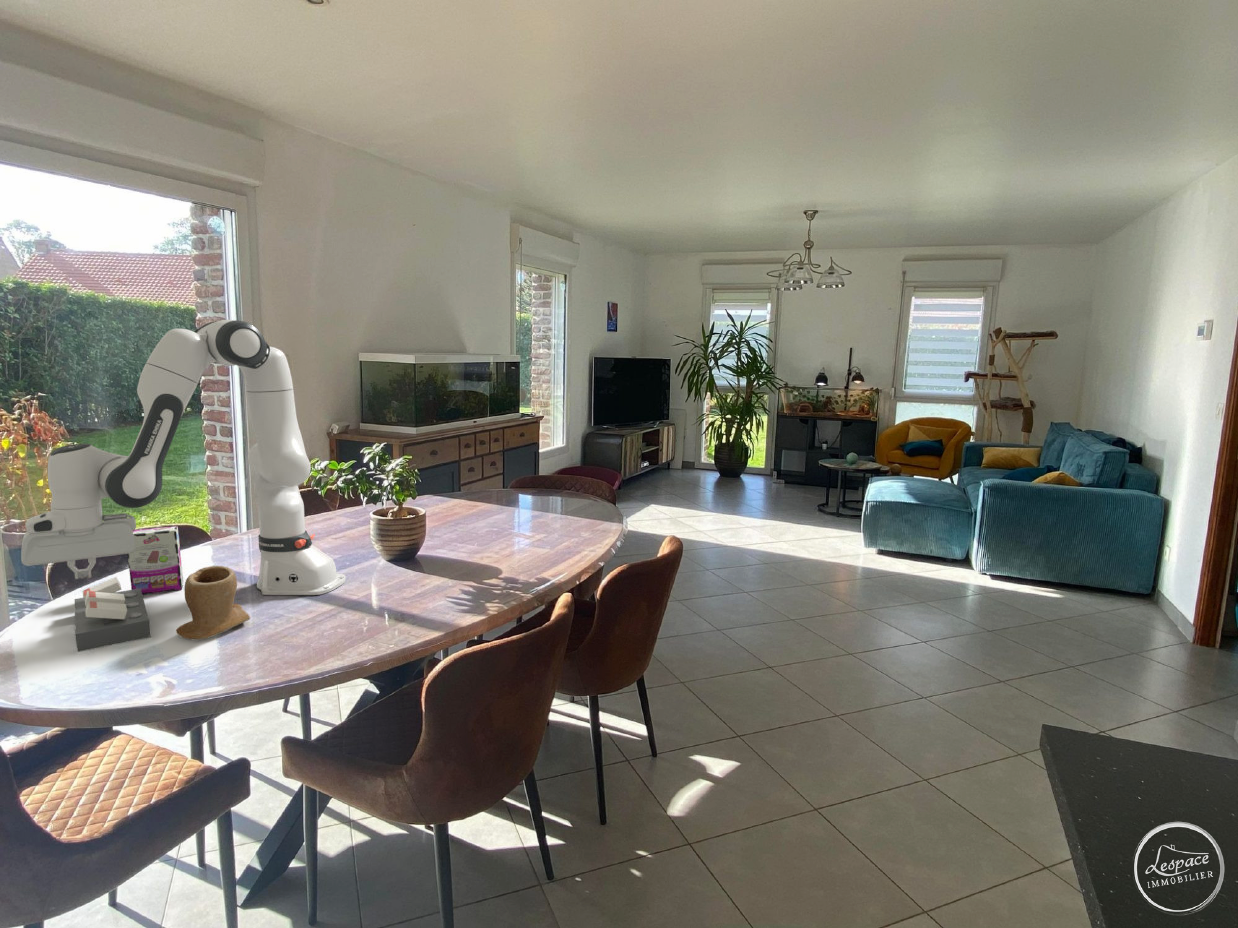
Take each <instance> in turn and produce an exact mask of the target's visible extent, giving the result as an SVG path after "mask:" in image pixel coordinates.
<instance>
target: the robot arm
mask: <svg viewBox="0 0 1238 928" xmlns="http://www.w3.org/2000/svg"><path fill="white" fill-rule="evenodd" d="M212 364H217V365H223V366H230V367H231V366H233V367H234V366H237V367H238V368H239V369H240V371H241V373H242V375H243V378H244V385H245V393H246V394H245V395H246V401H247V409H248V410H247V411H248V418H249V419H248V420H249V423H250V425H251V428H252V430H253V433H254V437H255V440H256V443H255V444H253V445H252V446H251V448H250V449H249V451H248V454H247V461H248V464H249V465H248V466H249V469H250V475H251V480H252V481H251V482H252V485H253V490H254V495H255V499H256V503H257V510H258V511H257V513H258V525H259V526H258V527H259V534H258V549H259V552H260V561H259V562H260V564H259V574H258V579H257V583H256V588H257V589H259V590H260V591H261V594H262V595H263V596H316V595H318V596H319V595H324V594H326V593H329V592H332V591H333V590H336V589H337V588H339V587H341V585H343V584H344V583H345V582H346V580H347V577H346V574H344V573H338V572H337V567H336V564H335V560H334V559H333V558H332V557H331V556H329V555H328V554H326V553H324V552H323V551H322V550H320V549H319V548H318V547H316V546H315V545H313V542H312V540H314V539H316V538H315V536H316V535H315V533H314V534H312V535H309V533H308V531H307V530H306V523H305V505H304V501H303V498H302V495H301V493H300V489H299V486H300V485H302V484H303V483H304V482H305V481H307V479H308V478H309V476H310V473H311V469H312V466H311V462H310V459H309V458H308V454H307V452H306V448H305V444H304V440H303V436H302V432H301V430H300V425H299V422H298V418H297V416H298V415H297V409H296V403H295V401H296V400H295V394H294V383H293V377H292V374H291V369H290V365H289V362H288V359H287V356H286V354H285V353H284V352H283V351H282V350H281V349H279V348H277V347H274V346H269V343H268V342H267V341H266V340H265V338H264V336H263V334H262V333H261V332H260V330H259V329H258V328H257V327H256V326H254V325H253V324H252V323H249V322H248V321H244V320H238V319H237V320H235V319H222V320H217V321H211V322H208V323H206V324H204V325H202V326H201V327H199V328H197V329H196V330H194V331H193V330H190V329H186V328H172V329H170V330H168V331H167V332H165V334H164V335H163V337H162V338H161V339H160V340H159V342H158V343H157V344H156V345H155V347H154V348H153V350H152V351H151V354H150V355H149V357H148V358H147V361H146V362H145V365H144V366H143V369H142V371H141V373H140V376H139V380H138V383H137V387H136V388H137V389H136V393H137V396H138V398H139V401H140V402H141V405H142V409H143V421H142V426H141V428H140V429H139V432H138V435H137V437H136V440H135V442H134V444H133V446H132V449H131V451H130V453H129V455H128V456H127V455H124V454H123V455H122V454H118V453H112V452H109V451H105V450H103V449H100V448H98V447H96V446H94V445H92V444H90V443H85V442H84V443H74V444H67V445H65V446H60V447H58V448H56V449H53V451H52V452H51V453H50V454H49V457H48V460H47V484H48V489H49V491H50V493H51V502H50V511H47V512H43V513H41V514H38V515H35V516H32V517H30V518H28V519H27V521H26V522H25V529H26V532H25V533H24V536H23V538H22V541H21V542H22V543H21V552H20V559H21V560H20V561H21V564H23V565H24V566H25V567H31V566H37V565H39V566H40V565H46V564H55V563H56V564H57V563H63V562H64V563H65V562H66V564H67V567H68V568H69V569H70V571H72V572H73V573H74V579H75V580H80V579H88V578H92V570H93V568H94V566H95V565H96V564H97V558H102V557H103V558H104V557H112V556H119V555H127V554H129V553H133V552H134V551H135V550H136V543H135V538H134V534H133V531H134V530H136V528H137V524H136V522H137V521H136V518H135V517H134V516H133V515H131V514H128V513H123V512H122V513H117V514H104V515H103V507H102V506H103V505H102V500H103V499H105V498H110V499H111V500H112V502H114V503H115V504H117V505H119V506H121V507H124V508H130V509H135V508H141V507H144V506H147V505H149V504H151V503H152V502H153V501H155V500H156V499H157V498H158V497H159V495H160V493H161V491H162V488H163V467H164V466H163V465H164V463H165V460H166V457H167V455H168V452H169V450H170V446H171V444H172V442H173V440H174V437H175V434H176V432H177V429H178V427H179V424H180V421H181V418H182V417H183V414H184V412H185V410H186V408H187V406H188V405H189V402H190V400H191V398H192V396H193V394H194V392H195V391H196V389H197V386H198V384H199V381H200V379H201V377H202V375H203V373H204V372H205V370H206V369H207V368H208V367H209V366H210V365H212ZM79 560H88V561H87V562H88V566H87V567H86V568H81V569H79V568H77V566H76V561H79Z"/></svg>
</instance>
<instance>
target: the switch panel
mask: <svg viewBox="0 0 1238 928" xmlns="http://www.w3.org/2000/svg"><path fill="white" fill-rule="evenodd" d="M115 593H116V594H124V597H125V602H124V604H126V607H127V613H126V616H125V619H112V618H96V617H86V613H85V610H86V606H85V600H84V598H83V597H79V598H74V632H75V633H74V635H75V642H76V651H77V652H83V651H84V652H85V651H88V650H89V651H90V650H93V649H98V648H104V647H108V646H112V645H119V644H124V643H127V642H128V643H129V642H132V641H138V640H143V639H147V638H151V637H152V635H151V634H152V633H151V624H150V618H149V615H148V611H147V607H146V604H145V599H144V595H142V592H141V588H139V589H133V590H131V589H128V590H127V589H126V590H122V591H121V590H120V591H117V592H115Z"/></svg>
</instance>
